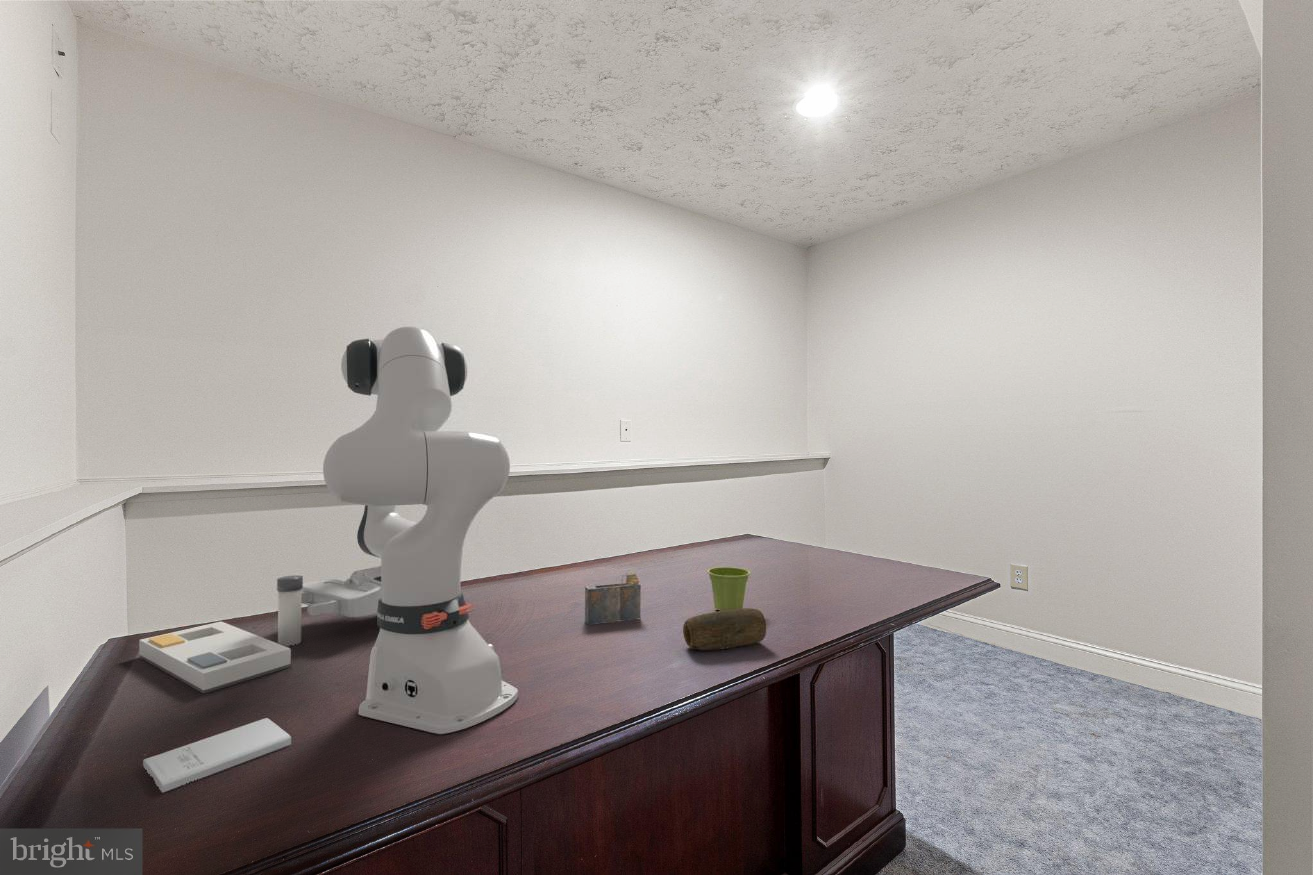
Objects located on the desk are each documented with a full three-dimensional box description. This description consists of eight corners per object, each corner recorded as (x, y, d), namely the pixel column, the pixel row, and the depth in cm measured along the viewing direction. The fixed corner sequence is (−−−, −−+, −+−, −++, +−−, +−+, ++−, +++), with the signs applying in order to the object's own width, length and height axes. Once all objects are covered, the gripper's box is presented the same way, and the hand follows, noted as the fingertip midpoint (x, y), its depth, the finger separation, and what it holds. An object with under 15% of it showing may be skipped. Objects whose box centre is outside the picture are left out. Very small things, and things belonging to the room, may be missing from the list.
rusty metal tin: (635, 616, 125) (636, 571, 125) (640, 620, 122) (640, 574, 122) (584, 622, 121) (584, 575, 121) (587, 626, 118) (588, 579, 118)
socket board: (290, 666, 95) (290, 646, 95) (203, 693, 85) (203, 670, 85) (221, 637, 109) (221, 619, 109) (139, 657, 99) (139, 637, 99)
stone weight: (749, 635, 112) (749, 601, 112) (769, 648, 106) (769, 611, 106) (679, 645, 106) (679, 609, 106) (695, 659, 100) (695, 620, 100)
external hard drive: (291, 749, 71) (161, 798, 62) (266, 728, 76) (142, 771, 67) (291, 735, 71) (162, 782, 62) (266, 716, 76) (142, 756, 67)
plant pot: (707, 603, 134) (707, 565, 134) (748, 604, 133) (748, 567, 133) (707, 615, 124) (707, 575, 124) (751, 617, 123) (751, 576, 123)
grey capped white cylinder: (306, 641, 107) (307, 577, 107) (283, 648, 104) (283, 581, 104) (295, 637, 109) (296, 574, 109) (272, 644, 106) (272, 578, 106)
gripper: (339, 569, 124) (268, 582, 113) (396, 581, 114) (324, 597, 102) (339, 598, 124) (268, 614, 113) (396, 614, 113) (324, 633, 102)
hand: (295, 606), depth 107 cm, fingers open, 8 cm apart
